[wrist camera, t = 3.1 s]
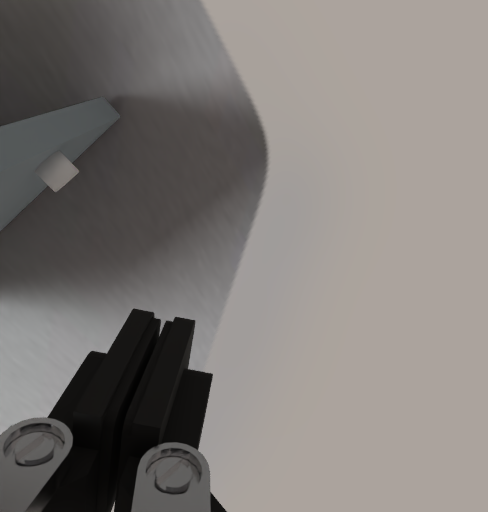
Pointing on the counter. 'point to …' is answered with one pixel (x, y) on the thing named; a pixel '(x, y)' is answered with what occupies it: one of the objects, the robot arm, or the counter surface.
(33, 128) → the door
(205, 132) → the counter surface
